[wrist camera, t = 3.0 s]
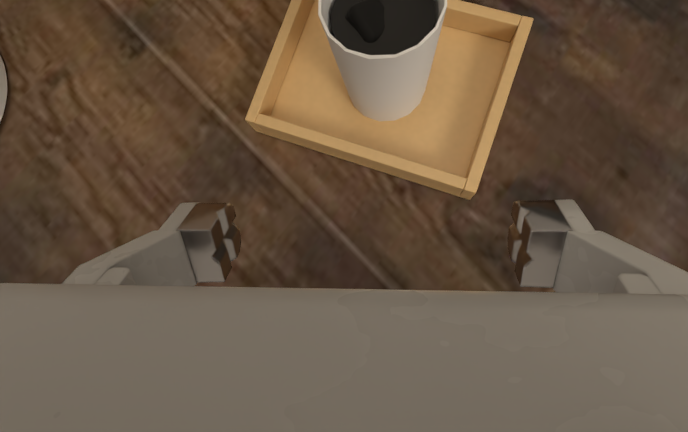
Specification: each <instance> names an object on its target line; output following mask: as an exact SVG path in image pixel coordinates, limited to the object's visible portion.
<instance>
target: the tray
mask: <svg viewBox="0 0 688 432" xmlns="http://www.w3.org/2000/svg"><path fill="white" fill-rule="evenodd" d="M533 20H534V19H533V18H530V17H526V16H522V17H521V15H517V14H513V13H509V12H505V11H501V10H497V9H493V8H489V7H485V6H481V5H477V4H473V3H469V2H465V1H461V0H447V8H446V12H445V16H444V20H443V24H442V28H441V31H440V35H439V39H438V43H437V47H436V51H435V55H434V59H433V62H432V66H431V70H430V74H429V78H428V82H427V86H426V90H425V92H424V95H423V97H422V100H421V102H420V104H419V105H418V106H417V107H416V108H415V109H414V110H413V111H412V112H411V113H410V114H409V115H406V116H404V117H402V118H400V119H397V120H395V121H377V120H374V119H371V118H368V117H365V116H364V115H363V114H362V113H361V112H359V111H358V110H357V109H356V108H355V107H354V106H353V103H352V101H351V99H350V97H349V94H348V92H347V89H346V86H345V84H344V81H343V78H342V76H341V73H340V71H339V68H338V65H337V63H336V60H335V57H334V55H333V52H332V49H331V47H330V44H329V42H328V39H327V36H326V34H325V31H324V28H323V26H322V23H321V21H320V18H319V15H318V0H291V3H290V5H289V8H288V10H287V13H286V15H285V18H284V20H283V23H282V26H281V28H280V31H279V33H278V36H277V38H276V41H275V43H274V46H273V49H272V51H271V54H270V56H269V59H268V61H267V64H266V67H265V69H264V72H263V74H262V77H261V79H260V82H259V84H258V87H257V90H256V92H255V95H254V97H253V100H252V102H251V105H250V107H249V110H248V113H247V115H246V118H245V120H246V121H247V122H248V123H249V125H250V126H251V127H252V128H253V129H254V130H255V131H256V132H260V133H263V134H266V135H269V136H272V137H275V138H278V139H281V140H284V141H288V142H291V143H294V144H297V145H300V146H303V147H306V148H309V149H312V150H316V151H319V152H322V153H325V154H328V155H331V156H334V157H337V158H340V159H344V160H347V161H350V162H353V163H356V164H359V165H362V166H365V167H368V168H372V169H375V170H378V171H381V172H384V173H387V174H390V175H393V176H396V177H400V178H403V179H406V180H409V181H412V182H415V183H418V184H421V185H424V186H428V187H431V188H434V189H437V190H440V191H443V192H446V193H449V194H452V195H456V196H459V197H462V198H465V199H468V200H470V199H471V198H472V197H473V195H474V194H475V193H476V191H477V188H478V185H479V182H480V179H481V176H482V173H483V170H484V167H485V164H486V161H487V158H488V155H489V152H490V149H491V146H492V143H493V140H494V137H495V134H496V131H497V128H498V125H499V122H500V119H501V116H502V113H503V110H504V107H505V104H506V101H507V98H508V95H509V92H510V89H511V86H512V83H513V80H514V77H515V74H516V71H517V68H518V65H519V62H520V59H521V56H522V53H523V50H524V47H525V44H526V41H527V38H528V35H529V32H530V29H531V26H532V23H533Z"/></svg>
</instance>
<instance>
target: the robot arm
mask: <svg viewBox="0 0 688 432" xmlns="http://www.w3.org/2000/svg"><path fill="white" fill-rule="evenodd" d="M6 100H7V76H6V70H5V66H4V63H3V60H2V58H1V55H0V122H1V120H2V117H3V114H4V110H5V105H6ZM511 216H512V218H513V221H514V224H513V225H512V226H511V227H510V228H509V231H508V252H509V256H510V259H511V261H513V262H514V263H516V265H515V273H516V276H517V279H518V281H519V284H520V287H543V288H553V289H554V290H555V291H556V292H506V291H446V290H386V289H327V288H268V287H209V286H194V285H196V284H197V282H225V280H226V278H227V276H228V274H229V272H230V270H231V268H232V266H231V261H233V260H234V259H236V258H237V256H238V254H239V252H240V246H241V235H240V231H239V228H238V227H237V226H236V225H235V224H234V223H233V220H234V219H235V217H236V214H235V210H234V206H233V205H232V204H231V203H198V202H194V203H181V204H180V205H179V206H178V207H177V208H176V210H175V211H174V212H173V213H172V214H171V216H170V217H169V218H168V219H167V220H166V222H165V223H164V224H163V225H162V227H161V228H160V229H159V230H158V231H151V232H149V233H147V234H145V235H143V236H141V237H139V238H137V239H135V240H132V241H130V242H128V243H126V244H124V245H122V246H120V247H118V248H116V249H113V250H111V251H109V252H107V253H105V254H103V255H101V256H99V257H96V258H94V259H92V260H90V261H88V262H86V263H84V264H82V265H80V266H78V267H77V268H76V269H75V270H74V271H73V272H72V273H71V274H70V275H69V276H68V277H67V278H66V280H65V281H64V282H63V283H62V284H31V283H0V432H688V272H686V271H684V270H682V269H680V268H678V267H676V266H674V265H672V264H669V263H667V262H665V261H663V260H661V259H659V258H657V257H655V256H653V255H651V254H648V253H646V252H644V251H642V250H640V249H638V248H636V247H634V246H632V245H630V244H628V243H625V242H623V241H621V240H619V239H617V238H615V237H613V236H611V235H609V234H607V233H605V232H602V231H595V230H594V228H593V227H592V225H591V224H590V222H589V221H588V220H587V218H586V217H585V215H584V214H583V212H582V211H581V209H580V208H579V207H578V205H577V204H576V202H575V201H574V200H571V199H568V200H538V201H515V202H514V204H513V207H512V212H511Z"/></svg>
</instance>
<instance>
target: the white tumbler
mask: <svg viewBox="0 0 688 432" xmlns="http://www.w3.org/2000/svg"><path fill="white" fill-rule="evenodd" d="M446 8H447V0H318V15H319V18H320V21H321V23H322V26H323V28H324V31H325V34H326V36H327V39H328V42H329V44H330V47H331V49H332V52H333V55H334V57H335V60H336V63H337V65H338V68H339V71H340V73H341V76H342V78H343V81H344V84H345V86H346V89H347V92H348V94H349V97H350V99H351V101H352V103H353V106H354V107H355V108H356V109H357V110H358V111H359V112H361V113H362V114H363V115H364V116H365V117H368V118H371V119H374V120H377V121H395V120H397V119H400V118H402V117H404V116H406V115H409V114H410V113H411V112H412V111H413V110H414V109H415V108H416V107H417V106H418V105H419V104H420V102H421V100H422V97H423V95H424V92H425V90H426V86H427V82H428V78H429V74H430V70H431V66H432V62H433V59H434V55H435V51H436V47H437V43H438V39H439V35H440V31H441V28H442V24H443V20H444V16H445V12H446Z"/></svg>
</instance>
